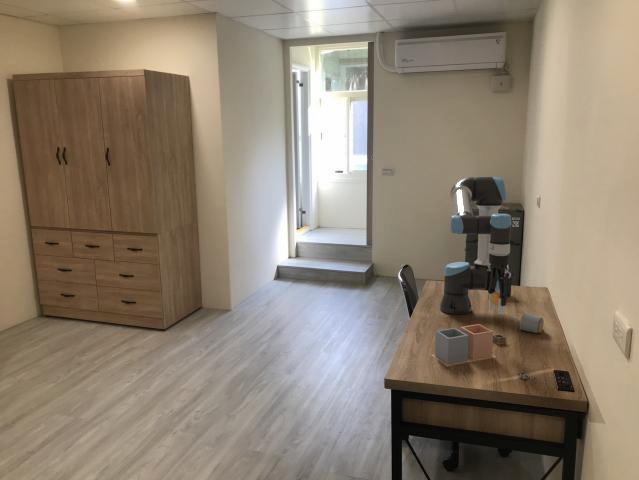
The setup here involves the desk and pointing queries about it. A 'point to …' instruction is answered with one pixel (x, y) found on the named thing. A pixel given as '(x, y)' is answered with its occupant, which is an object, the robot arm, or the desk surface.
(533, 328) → the ceramic mug
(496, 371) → the desk surface
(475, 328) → the double square tube
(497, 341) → the stand
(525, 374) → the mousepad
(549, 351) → the desk surface
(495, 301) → the ball
